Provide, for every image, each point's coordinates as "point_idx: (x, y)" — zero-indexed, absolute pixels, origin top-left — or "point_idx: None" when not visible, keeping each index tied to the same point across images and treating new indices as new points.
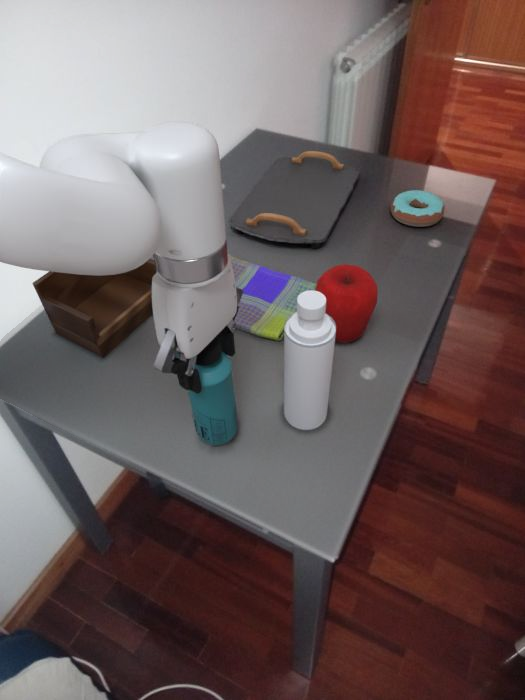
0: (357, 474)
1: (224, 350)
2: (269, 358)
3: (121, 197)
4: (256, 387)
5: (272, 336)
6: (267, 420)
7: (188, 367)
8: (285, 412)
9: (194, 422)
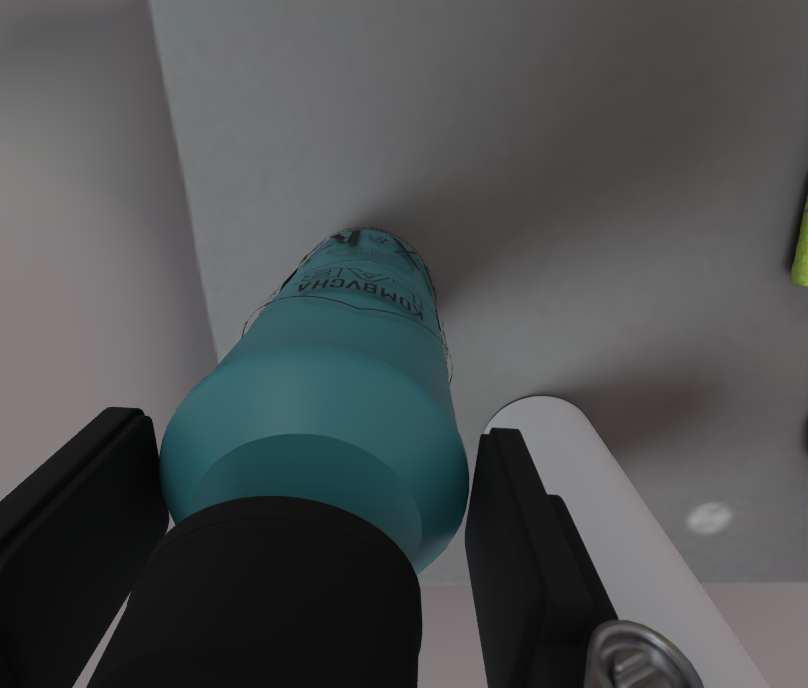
0: (427, 574)
1: (474, 524)
2: (704, 275)
3: None
4: (573, 295)
5: (806, 263)
6: (474, 374)
7: None
8: (502, 426)
9: (285, 282)
